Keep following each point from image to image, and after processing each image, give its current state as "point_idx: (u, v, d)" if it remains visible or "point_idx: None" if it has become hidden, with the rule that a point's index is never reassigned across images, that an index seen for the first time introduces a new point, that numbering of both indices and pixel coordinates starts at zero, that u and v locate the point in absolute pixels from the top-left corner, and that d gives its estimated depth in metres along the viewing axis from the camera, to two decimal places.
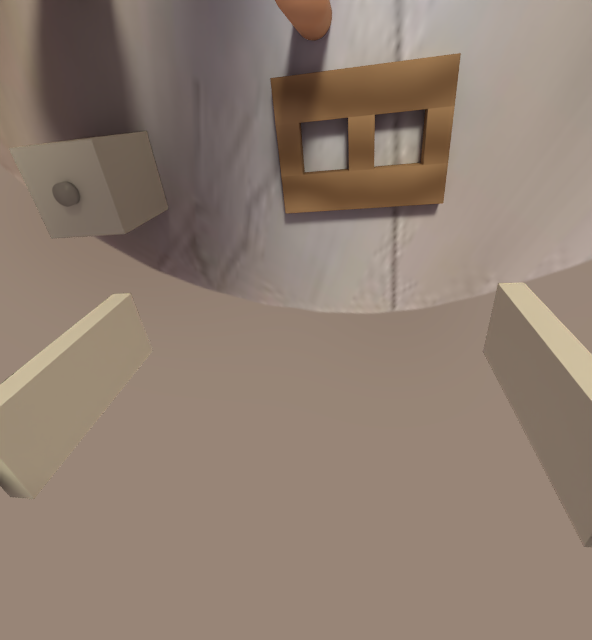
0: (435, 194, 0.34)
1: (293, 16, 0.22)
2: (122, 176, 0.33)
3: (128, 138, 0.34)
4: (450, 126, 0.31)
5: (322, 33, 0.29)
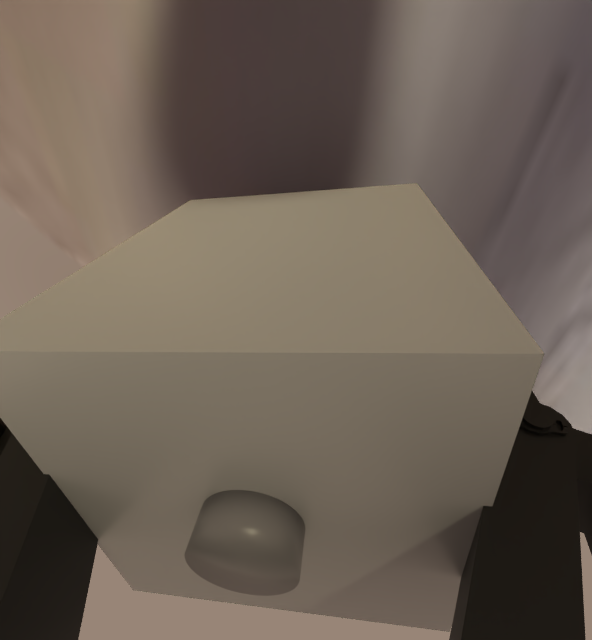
0: None
1: None
2: None
3: None
4: None
5: None
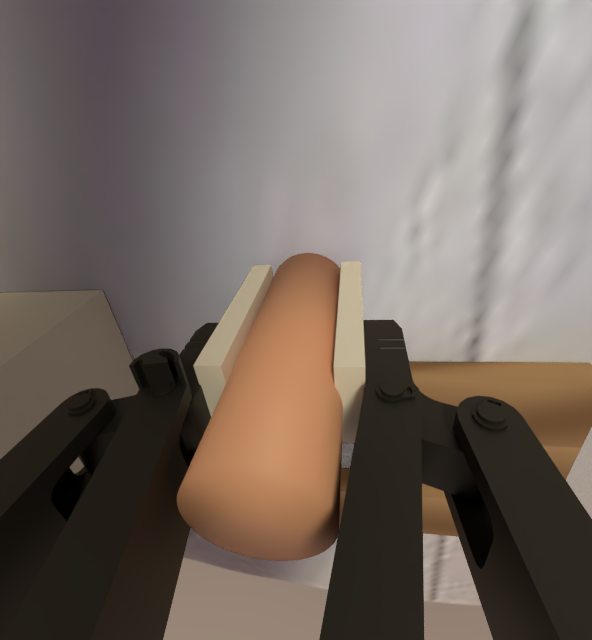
0: None
1: (249, 554, 0.08)
2: None
3: (49, 341, 0.14)
4: (567, 469, 0.17)
5: None
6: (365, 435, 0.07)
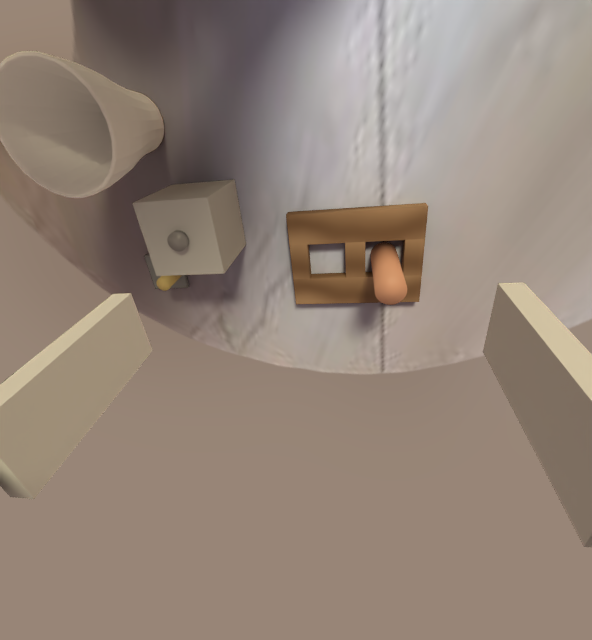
0: (412, 295, 0.45)
1: (386, 303, 0.36)
2: (222, 223, 0.38)
3: (225, 189, 0.39)
4: (422, 251, 0.41)
5: None
6: None
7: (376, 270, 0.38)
